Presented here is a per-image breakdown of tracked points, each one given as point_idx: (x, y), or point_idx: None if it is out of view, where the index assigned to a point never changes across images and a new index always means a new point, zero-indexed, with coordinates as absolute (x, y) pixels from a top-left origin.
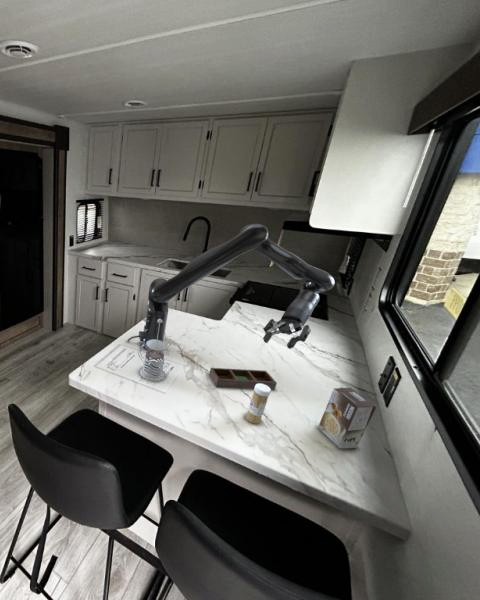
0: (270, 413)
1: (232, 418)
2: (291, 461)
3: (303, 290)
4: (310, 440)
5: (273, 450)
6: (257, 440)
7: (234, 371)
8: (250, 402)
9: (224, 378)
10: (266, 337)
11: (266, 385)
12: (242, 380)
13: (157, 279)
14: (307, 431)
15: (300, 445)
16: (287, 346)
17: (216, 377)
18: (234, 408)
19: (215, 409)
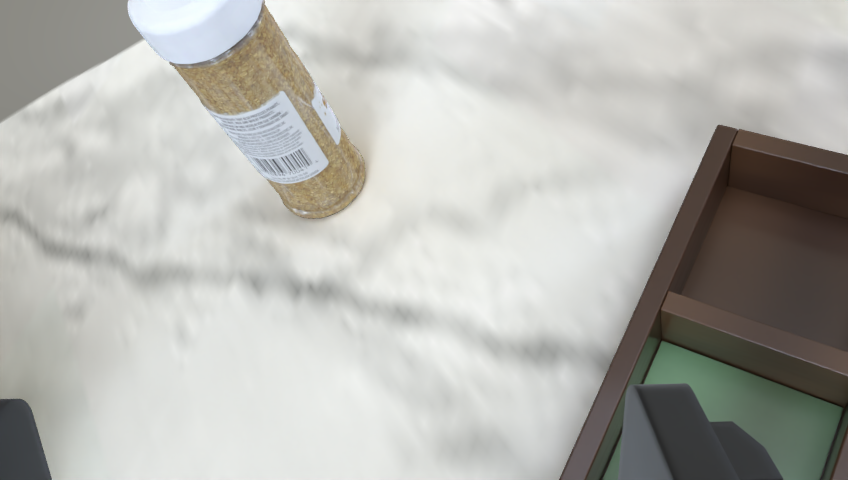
0: (298, 347)
1: (391, 75)
2: (67, 150)
3: None
4: (42, 377)
5: (144, 121)
6: None
7: (844, 431)
8: (311, 77)
9: (810, 318)
10: (656, 429)
11: (179, 24)
12: (631, 343)
13: None
14: (76, 438)
15: (69, 281)
16: (33, 432)
17: (757, 133)
18: (451, 143)
19: (496, 29)
